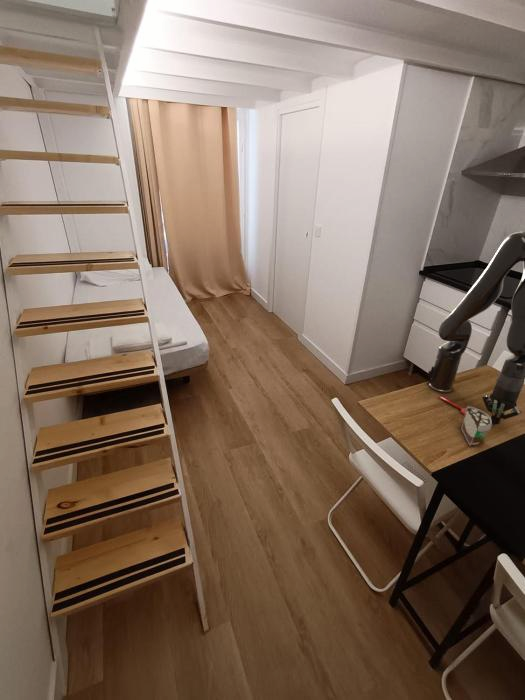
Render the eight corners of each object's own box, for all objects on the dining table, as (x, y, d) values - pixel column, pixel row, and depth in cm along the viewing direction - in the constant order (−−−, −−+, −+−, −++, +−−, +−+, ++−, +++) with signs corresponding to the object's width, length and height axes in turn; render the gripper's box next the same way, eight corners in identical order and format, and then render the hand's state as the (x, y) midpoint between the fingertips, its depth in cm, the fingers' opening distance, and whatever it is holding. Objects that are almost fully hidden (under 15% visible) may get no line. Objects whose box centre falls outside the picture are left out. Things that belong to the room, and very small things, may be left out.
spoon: (436, 399, 144) (437, 397, 143) (443, 396, 146) (443, 394, 145) (468, 417, 133) (469, 415, 132) (475, 414, 134) (475, 412, 134)
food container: (490, 451, 116) (499, 428, 111) (471, 448, 117) (479, 426, 112) (477, 428, 127) (485, 407, 122) (460, 426, 128) (467, 405, 123)
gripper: (535, 391, 114) (518, 430, 122) (495, 374, 124) (482, 411, 132) (523, 397, 111) (507, 437, 119) (483, 379, 121) (470, 417, 129)
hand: (493, 423), depth 125 cm, fingers closed
